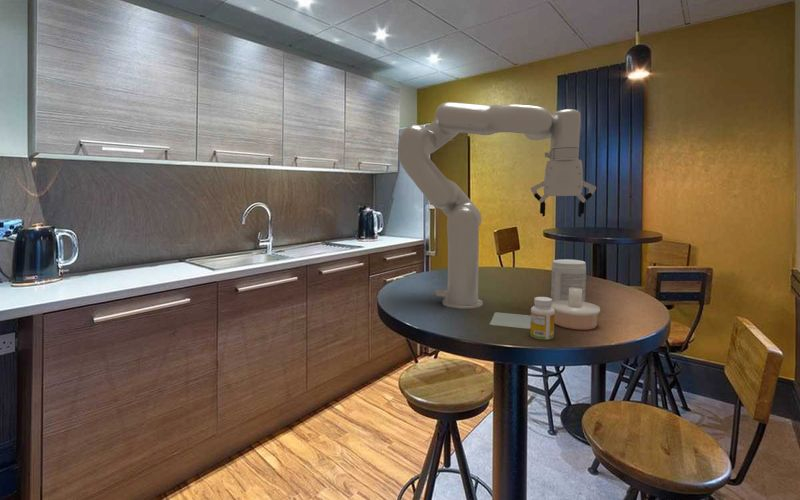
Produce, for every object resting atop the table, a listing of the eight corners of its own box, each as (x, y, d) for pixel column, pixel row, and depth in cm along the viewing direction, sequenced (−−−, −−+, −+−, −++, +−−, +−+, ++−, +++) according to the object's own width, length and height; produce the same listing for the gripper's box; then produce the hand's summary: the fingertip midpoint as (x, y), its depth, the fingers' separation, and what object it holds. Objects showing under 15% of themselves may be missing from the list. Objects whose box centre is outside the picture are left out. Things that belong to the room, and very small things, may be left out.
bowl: (553, 328, 101) (553, 312, 101) (552, 317, 111) (553, 302, 110) (598, 333, 97) (599, 316, 97) (593, 321, 107) (594, 305, 107)
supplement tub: (590, 310, 118) (593, 262, 116) (572, 315, 113) (574, 265, 111) (562, 303, 126) (564, 258, 124) (543, 307, 121) (545, 260, 119)
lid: (550, 312, 100) (551, 292, 99) (550, 301, 111) (551, 282, 111) (602, 317, 96) (604, 296, 95) (597, 305, 107) (598, 285, 106)
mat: (489, 326, 103) (489, 324, 103) (495, 314, 114) (495, 312, 114) (537, 331, 99) (537, 329, 99) (538, 318, 110) (538, 316, 110)
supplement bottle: (546, 333, 98) (548, 295, 97) (557, 341, 93) (559, 301, 91) (526, 334, 97) (527, 296, 96) (536, 342, 92) (537, 301, 91)
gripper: (531, 156, 110) (529, 216, 113) (599, 153, 104) (596, 217, 107) (532, 158, 117) (530, 215, 120) (596, 156, 111) (592, 216, 114)
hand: (561, 216), depth 113 cm, fingers open, 9 cm apart
